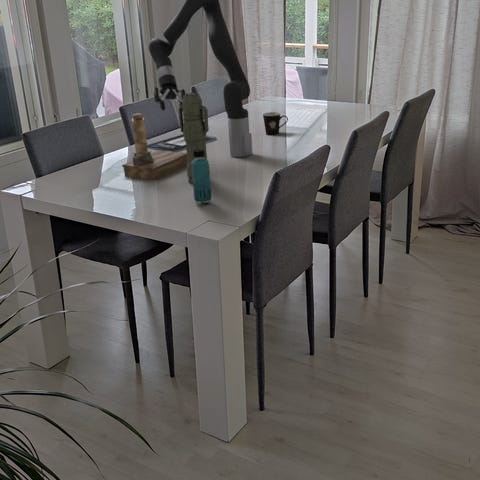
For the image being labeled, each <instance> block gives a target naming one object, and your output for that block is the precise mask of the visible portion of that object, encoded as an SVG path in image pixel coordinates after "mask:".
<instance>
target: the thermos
mask: <svg viewBox="0 0 480 480" xmlns="http://www.w3.org/2000/svg"><path fill="white" fill-rule="evenodd" d="M182 105H183V106H179V107H178V119H179V128H180V131H181V133H182V134H184V140H185V142H186V149H185V150H186V153H187V161H188V164H187V165H186V172H187V173H186V175H187V177H188V178H187V179H188V181H187V182H188V184H190V185H193V175H192V165H191V162H192V161H193V160H194V159H196V158H205V159H206V160H208V153H207V143H206V135H207V133H208V132H209V131H210V130H209V129H210V128H209V115H208V114H209V113H208V108H207V107H206V105H205V106H204V105H203V100H202V98H201V95H200V94H199V93H197V92H188V93H187V92H186V93H185V95H184V97H183V101H182ZM182 109H183V112H182ZM196 149H203V150H204V153H205V156H203V157H194V156H193V151H194V150H196ZM208 165H209V166H210V164H209V163H208ZM210 174H211V173H209V176H210Z"/></svg>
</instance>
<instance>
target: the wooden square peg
mask: <svg viewBox="0 0 480 480" xmlns="http://www.w3.org/2000/svg"><path fill="white" fill-rule="evenodd" d="M131 123H132V126H131V127H132V132H133V133H132V134H133V142H134V148H135V153H136V157H142V156H148V152H149V151H148V150H149V149H148V148H147V145H148V141H147V133H146V125H145V117H143V113H134V114H132V118H131Z"/></svg>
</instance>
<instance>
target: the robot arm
mask: <svg viewBox="0 0 480 480" xmlns="http://www.w3.org/2000/svg"><path fill="white" fill-rule="evenodd" d="M202 8H203V10H204V12H205V16H206V18H207V25H208V30H207V31H208V41H209V45H210V47H211V50H212V52H213V56H215V58H216V60H217V61H218V62H219V63H220V64H221V65H222V66H223V67H224V69H225V70H226V72H227V73H228V76H229V79H230V81H228V82H227V83H225V85H224V86H223V92H222V93H223V101H224V109H225V112H226V114H227V115H226V116H227V126H228V127H227V128H228V129H227V130H228V139H229V140H228V141H229V155H230V156H231V157H233V158H246V157H249V156H251V155H253V145H252V144H253V141H252V139H253V138H252V133H251V132H250V123H249V121H250V120H249V119H250V118H249V111H248V109H246V108H244V107H243V101H244V100H247V99H248V98H249V97H250V96H251V95H250V93H251V87H250V84H249V81H248V79H247V77H246V75H245V72H244V70H243V68H242V66H241V64H240V61H239V57H238V55H237V53H236V50H235V47H234V44H233V40H232V37H231V34H230V32H229V30H228V26H227V24H226V21H225V18H224V16H223V12H222V8H221V4H220V0H185V1H184V2H183V5H181V7H180V9H179V10H178V12H177V14H176V15H175V16H174V18H173V19H172V20H171V21H170V23H168V25H167V27H166V28H165V29H164V30H163V32H162V34H163V37H164V38H165V40H162V38H158V37H153V38H152V39H150V41H149V44H148V51H149V54H150V55H151V58H152V59H153V62H154V64H155V67H156V71H157V72H156V73H157V81H158V85H159V88H158V87H155V88H154V90H153V97H154V102H155V103H158V104H159V106H160V109H161V111H164V112H165V110H166V105H165V104H166V103H165V99H166V100H174V102H176V103H178V106H179V107H180V106H183V105H182V101H183V97H184V95H185V94H186V91H185V89H181V90H179V89H178V85H177V80H176V76H175V72H174V69H173V64H172V60H171V58H170V57H169V56H171V54H172V53H173V51H174V48H175V46H176V43H177V42H178V40H179V39H180V38H181V36H182V35H183V34H184V33H185V32H186V30H187V28H188V26H189V23H190V22H191V20H192V18H193V16H194V15H196V13H197V11H199V10H200V9H202ZM160 94H161V95H162V96H161V97H160ZM182 113H183V109H182Z"/></svg>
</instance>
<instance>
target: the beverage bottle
mask: <svg viewBox="0 0 480 480" xmlns="http://www.w3.org/2000/svg"><path fill="white" fill-rule="evenodd" d="M193 156H194V157H203V156H205V153H204V150H203V149H196V150H194V151H193ZM208 164H209V160H208V159H207V160H206V159H205V158H196V159H194V160H193V161H192V162H191V165H192V175H193V184H192V186H193V198H194V201H195V202H196V203H197V202H198V203H206V202H209V201H211V200H212V197H213V196H212V195H213V194H212V186H211V178H210V177H211V176H210V175H209V173H210V164H209V165H208ZM210 174H211V173H210Z"/></svg>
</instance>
